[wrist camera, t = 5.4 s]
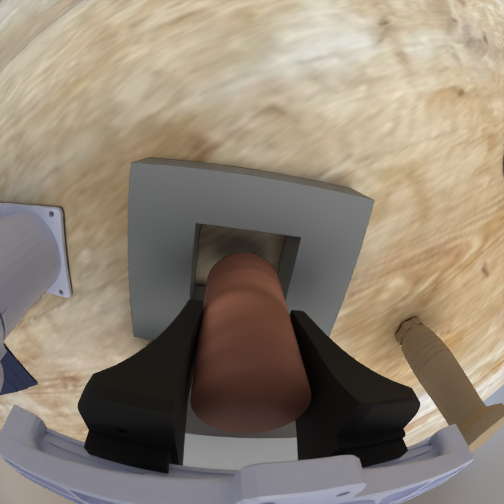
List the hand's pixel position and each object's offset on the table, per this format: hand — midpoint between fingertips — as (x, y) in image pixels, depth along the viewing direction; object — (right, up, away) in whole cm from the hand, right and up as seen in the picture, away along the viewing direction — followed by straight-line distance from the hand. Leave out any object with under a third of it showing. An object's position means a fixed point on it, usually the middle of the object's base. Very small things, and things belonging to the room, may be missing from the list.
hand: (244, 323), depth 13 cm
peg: (0, +1, +3) cm, 3 cm away
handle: (+16, -5, +12) cm, 21 cm away
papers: (-47, -9, +10) cm, 49 cm away
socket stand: (-1, +1, +8) cm, 8 cm away
